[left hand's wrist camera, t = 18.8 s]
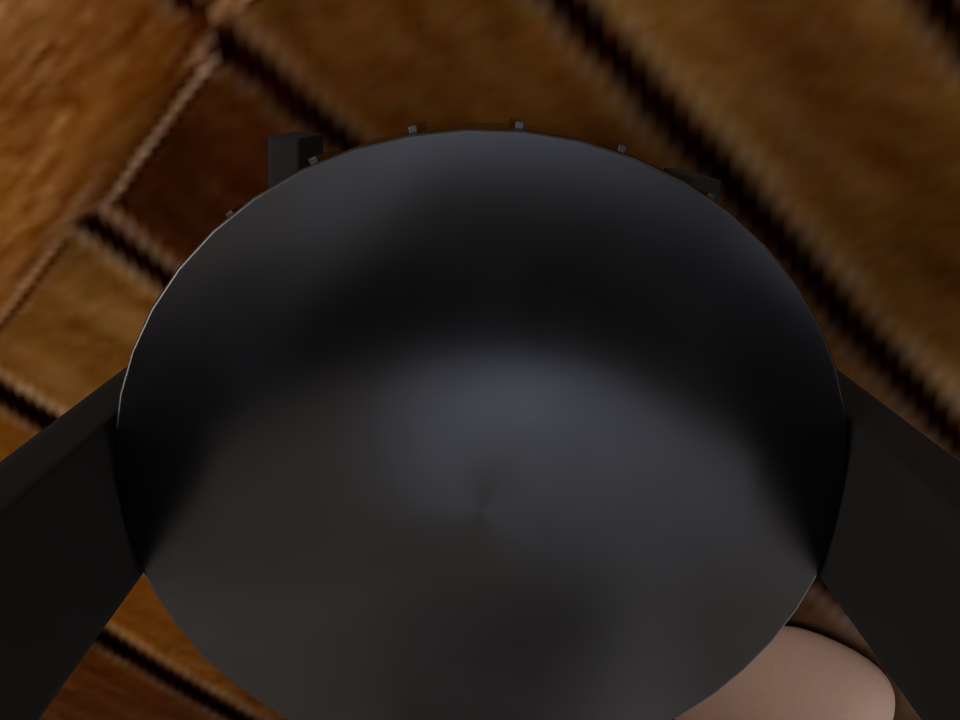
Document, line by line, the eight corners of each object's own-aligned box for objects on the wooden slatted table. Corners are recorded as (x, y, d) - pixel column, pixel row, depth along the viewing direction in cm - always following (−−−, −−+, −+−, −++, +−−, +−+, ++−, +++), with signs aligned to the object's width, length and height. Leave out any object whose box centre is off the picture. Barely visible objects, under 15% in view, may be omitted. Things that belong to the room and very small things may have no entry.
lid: (753, 667, 14) (799, 763, 12) (229, 681, 14) (187, 778, 12) (834, 105, 10) (923, 107, 8) (107, 132, 10) (15, 141, 8)
